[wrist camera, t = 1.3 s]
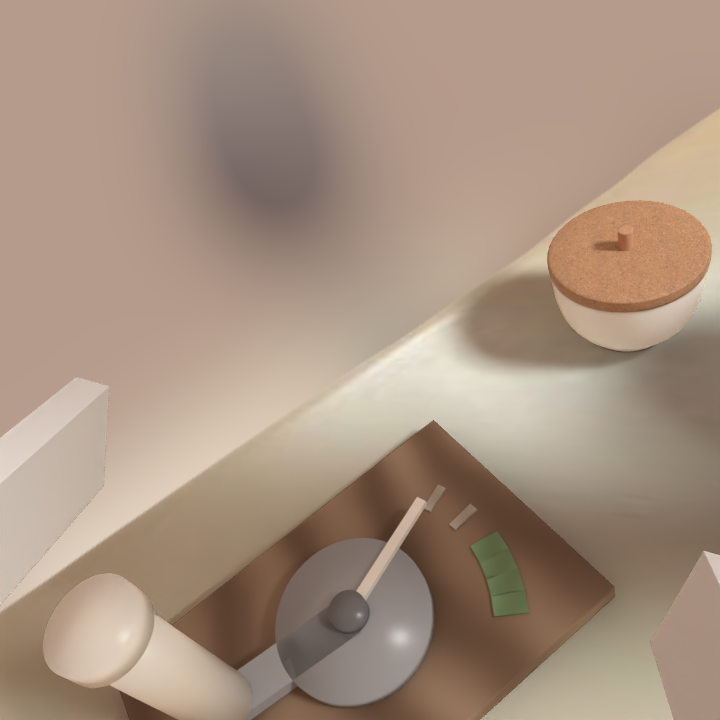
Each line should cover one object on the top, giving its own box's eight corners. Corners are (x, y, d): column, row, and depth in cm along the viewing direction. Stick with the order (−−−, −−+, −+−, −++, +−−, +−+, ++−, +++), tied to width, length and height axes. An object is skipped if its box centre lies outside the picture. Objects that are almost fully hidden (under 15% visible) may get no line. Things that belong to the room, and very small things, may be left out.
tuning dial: (409, 488, 46) (342, 353, 36) (508, 594, 39) (460, 467, 29) (175, 675, 42) (25, 586, 32) (240, 829, 36) (76, 779, 25)
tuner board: (437, 431, 51) (433, 418, 49) (614, 596, 39) (613, 585, 38) (125, 678, 45) (111, 670, 44) (223, 953, 34) (208, 953, 33)
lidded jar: (687, 265, 54) (694, 168, 47) (719, 367, 47) (732, 270, 40) (551, 285, 57) (539, 197, 50) (562, 383, 50) (550, 295, 43)
